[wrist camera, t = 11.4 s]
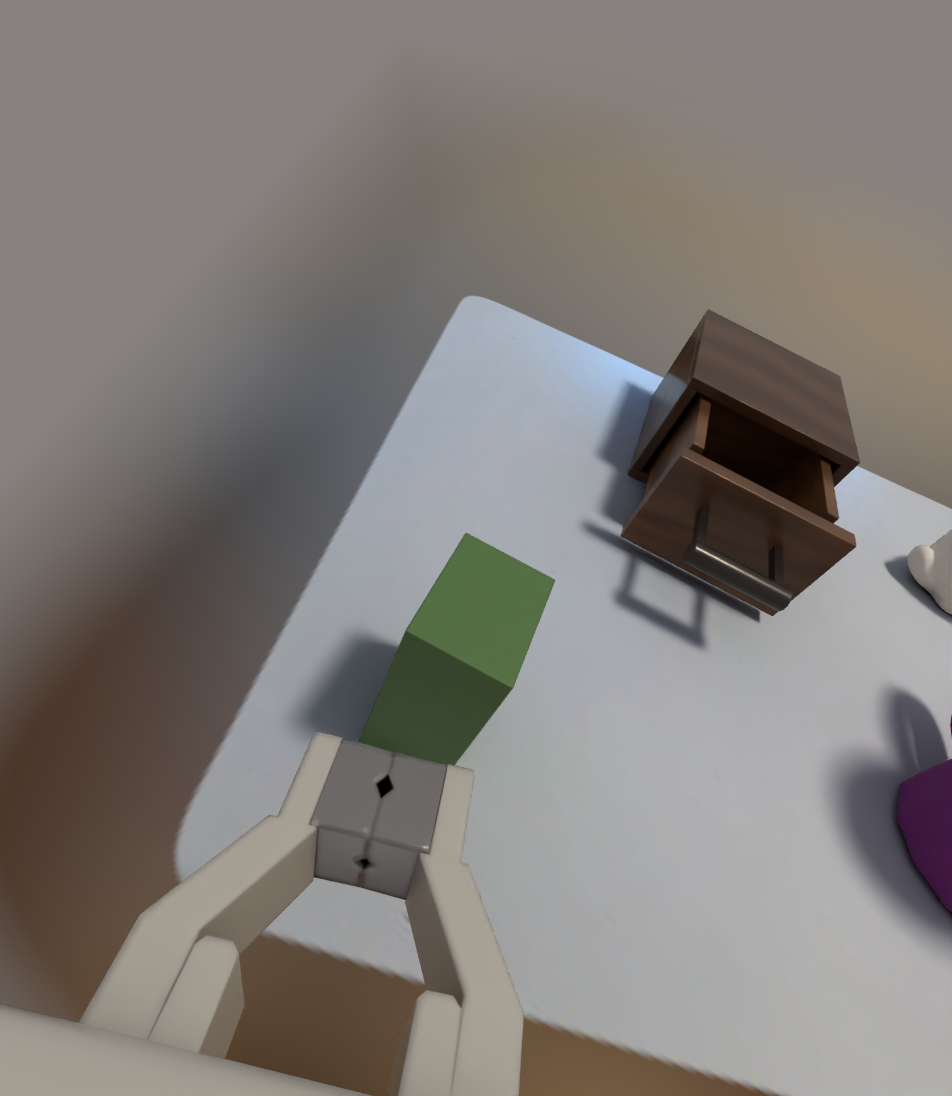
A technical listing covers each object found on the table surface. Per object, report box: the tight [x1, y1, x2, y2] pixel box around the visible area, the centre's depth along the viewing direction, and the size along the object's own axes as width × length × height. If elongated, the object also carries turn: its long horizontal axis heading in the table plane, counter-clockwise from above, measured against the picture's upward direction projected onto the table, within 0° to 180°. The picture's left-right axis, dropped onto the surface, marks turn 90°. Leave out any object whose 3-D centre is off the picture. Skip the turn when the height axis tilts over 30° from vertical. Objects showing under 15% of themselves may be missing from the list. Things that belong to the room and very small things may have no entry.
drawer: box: [621, 392, 856, 616], centre depth 40 cm, size 18×11×7 cm, turn 158°
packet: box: [359, 533, 555, 765], centre depth 24 cm, size 4×6×9 cm
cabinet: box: [628, 309, 860, 487], centre depth 48 cm, size 15×13×9 cm
